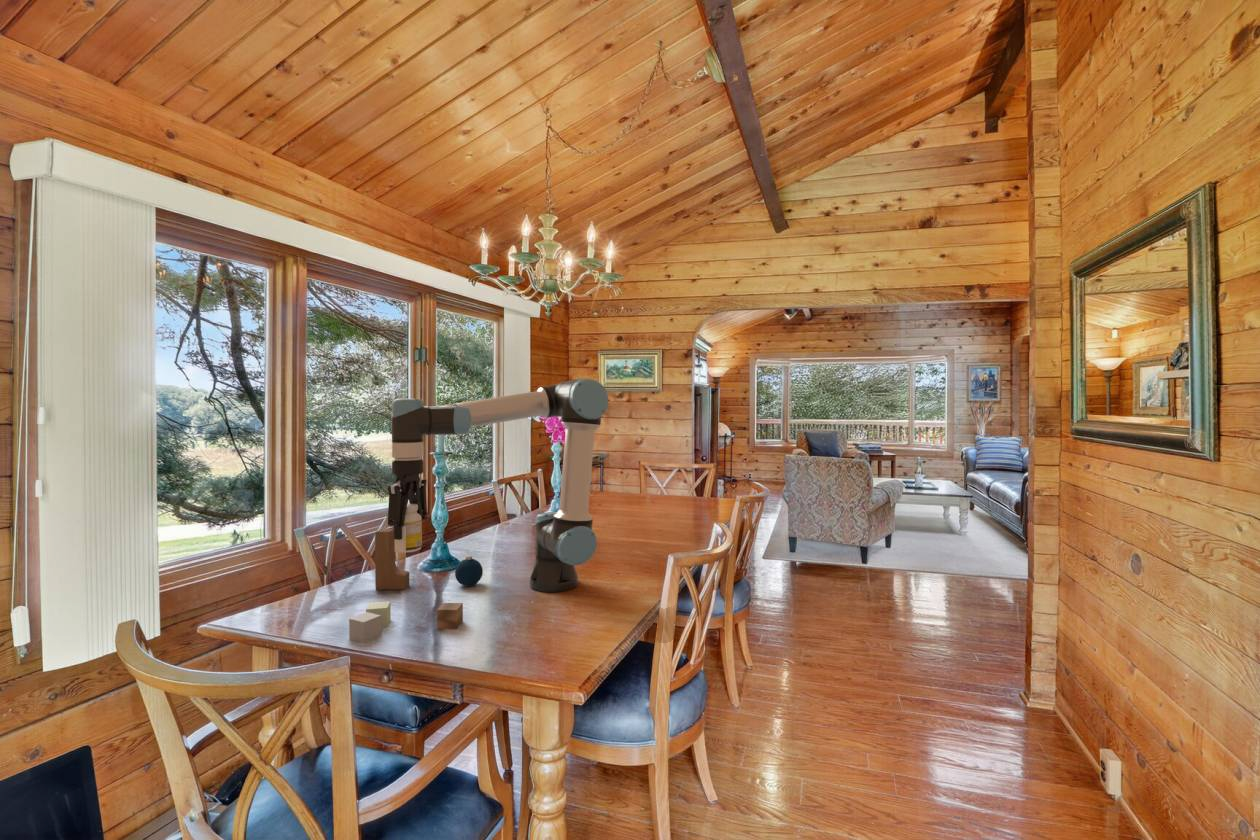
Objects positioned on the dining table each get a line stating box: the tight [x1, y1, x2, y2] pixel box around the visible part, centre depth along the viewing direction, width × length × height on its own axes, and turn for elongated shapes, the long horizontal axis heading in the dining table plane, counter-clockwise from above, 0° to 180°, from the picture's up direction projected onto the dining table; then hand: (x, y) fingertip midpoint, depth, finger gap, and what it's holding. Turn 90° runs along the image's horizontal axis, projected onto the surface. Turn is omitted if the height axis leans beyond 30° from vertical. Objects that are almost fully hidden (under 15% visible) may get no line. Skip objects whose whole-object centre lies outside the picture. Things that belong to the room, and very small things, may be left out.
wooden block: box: [374, 528, 410, 591], centre depth 176 cm, size 9×4×18 cm, turn 92°
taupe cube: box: [348, 611, 382, 643], centre depth 139 cm, size 5×5×5 cm
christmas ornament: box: [454, 554, 484, 587], centre depth 179 cm, size 8×8×10 cm
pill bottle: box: [402, 503, 423, 554], centre depth 146 cm, size 6×6×12 cm
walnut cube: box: [436, 602, 464, 630], centre depth 146 cm, size 5×5×5 cm
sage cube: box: [365, 600, 392, 628], centre depth 147 cm, size 5×5×5 cm
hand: (408, 548), depth 146 cm, fingers closed on pill bottle, 6 cm apart
